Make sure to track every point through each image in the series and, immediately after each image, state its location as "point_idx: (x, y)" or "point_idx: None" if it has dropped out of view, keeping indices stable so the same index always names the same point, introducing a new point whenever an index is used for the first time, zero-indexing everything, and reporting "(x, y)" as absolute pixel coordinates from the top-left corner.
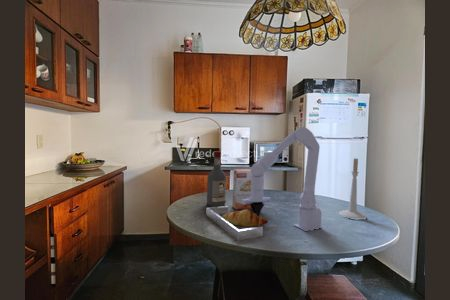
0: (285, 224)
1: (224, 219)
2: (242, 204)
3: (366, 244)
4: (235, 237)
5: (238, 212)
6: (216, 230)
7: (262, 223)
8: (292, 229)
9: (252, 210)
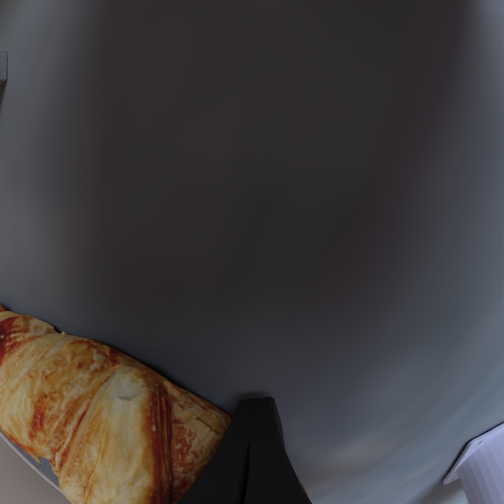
0: (448, 433)
1: (2, 434)
2: None
3: None
4: None
5: (38, 454)
6: None
7: None
8: (415, 476)
9: (202, 472)
